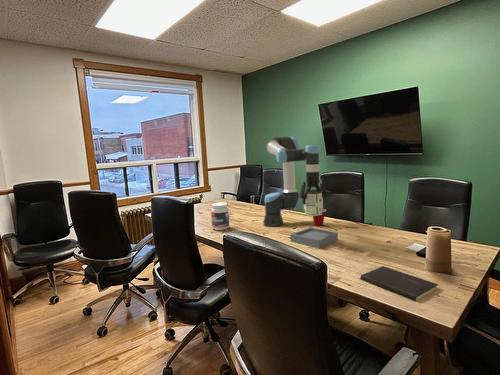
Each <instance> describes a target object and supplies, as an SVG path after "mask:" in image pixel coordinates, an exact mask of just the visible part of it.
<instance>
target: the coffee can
mask: <svg viewBox="0 0 500 375" xmlns="http://www.w3.org/2000/svg"><path fill="white" fill-rule="evenodd" d="M304 192H305V191H304ZM306 199H307V210H304V215H306V216H311V217H313V216H318V215H322V209H323V208H322V190H320V191H318V190H317V189H310V190H309V192H307V197H306Z"/></svg>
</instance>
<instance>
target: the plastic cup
mask: <svg viewBox="0 0 500 375" xmlns="http://www.w3.org/2000/svg"><path fill="white" fill-rule="evenodd" d="M326 211H327V209H325V208H322V215H318V216H312V220H313V224H314V227H322V226H323V225H324V221H325V220H324V219H325V215H326Z"/></svg>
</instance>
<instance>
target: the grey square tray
mask: <svg viewBox="0 0 500 375" xmlns="http://www.w3.org/2000/svg"><path fill="white" fill-rule="evenodd" d="M289 236H290V242H292V243H296V244H299V245H303V246H308V247H311V248H315V249H320V248H322V247H326V246H328V245H329V244H332V243H334V242H336V241H339V232H336V231H332V230H326V229H321V228H316V227H315V228H314V227H311V226H310V227H307V228H304V229H301V230H299V231H296V232H293V233H290V235H289Z"/></svg>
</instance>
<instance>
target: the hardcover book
mask: <svg viewBox="0 0 500 375" xmlns="http://www.w3.org/2000/svg"><path fill="white" fill-rule="evenodd" d="M359 278H360V281H363V282H365V283H368V284H370V285H373V286H375V287H378V288H381V289H384V290H385V291H388V292H391V293H393V294H396V295H398V296H400V297H403V298H405V299H408V300H411V301H413V302H415V303H416V302H417V301H419V300H420V299H422V298H423V297H425V296H427V295H429V294H431V293H432V292H434V291H435V290H437V289H438V288H437V287H438V286H439V283H435V282H433V281H429V280H426V279H423V278H420V277H417V276H414V275H411V274H408V273H405V272H401V271H399V270H396V269H393V268H390V267H388V266H384V265H383V266H382V265H381V266H380V267H377V268H375V269H373V270H371V271H367V272H366V273H363V274H361V275H360V277H359Z"/></svg>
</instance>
